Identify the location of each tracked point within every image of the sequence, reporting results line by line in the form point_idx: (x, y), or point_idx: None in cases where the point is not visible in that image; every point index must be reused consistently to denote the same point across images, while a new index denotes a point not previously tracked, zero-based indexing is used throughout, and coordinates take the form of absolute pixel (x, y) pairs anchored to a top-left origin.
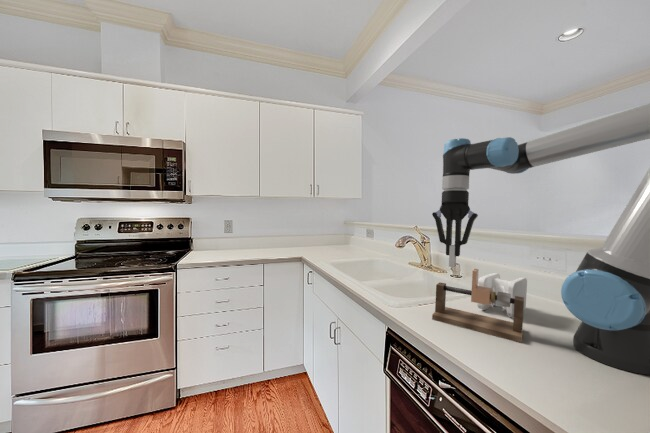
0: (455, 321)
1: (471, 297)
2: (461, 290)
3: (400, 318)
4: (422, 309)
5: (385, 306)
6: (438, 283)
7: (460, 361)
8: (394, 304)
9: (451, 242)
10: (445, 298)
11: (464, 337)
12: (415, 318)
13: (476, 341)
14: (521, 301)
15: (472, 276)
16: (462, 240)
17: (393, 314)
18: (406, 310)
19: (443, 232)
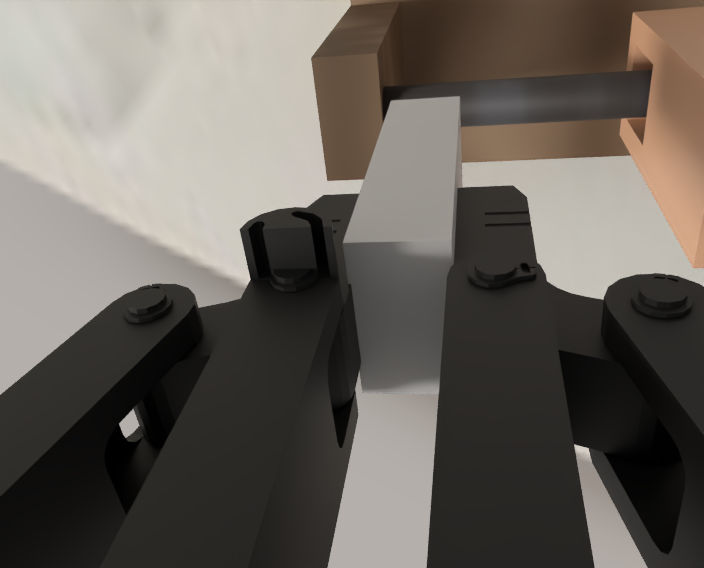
0: (509, 158)
1: (628, 148)
2: (541, 120)
3: (240, 261)
4: (247, 17)
5: (71, 154)
6: (322, 118)
7: (585, 456)
8: (74, 73)
9: (337, 292)
10: (391, 19)
11: (576, 266)
12: (294, 206)
13: (634, 272)
14: None
15: (676, 233)
16: (619, 490)
17: (183, 236)
18: (190, 123)
19: (65, 491)
